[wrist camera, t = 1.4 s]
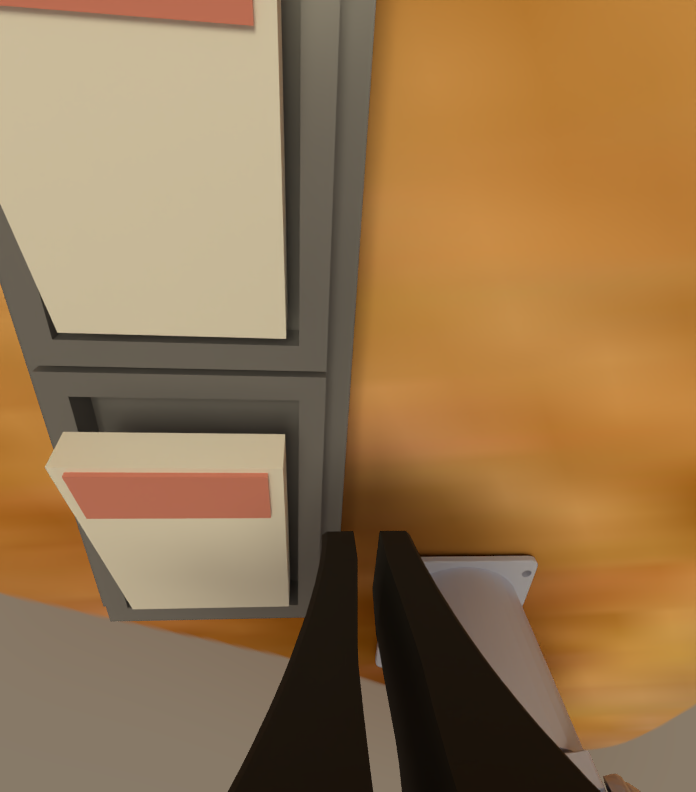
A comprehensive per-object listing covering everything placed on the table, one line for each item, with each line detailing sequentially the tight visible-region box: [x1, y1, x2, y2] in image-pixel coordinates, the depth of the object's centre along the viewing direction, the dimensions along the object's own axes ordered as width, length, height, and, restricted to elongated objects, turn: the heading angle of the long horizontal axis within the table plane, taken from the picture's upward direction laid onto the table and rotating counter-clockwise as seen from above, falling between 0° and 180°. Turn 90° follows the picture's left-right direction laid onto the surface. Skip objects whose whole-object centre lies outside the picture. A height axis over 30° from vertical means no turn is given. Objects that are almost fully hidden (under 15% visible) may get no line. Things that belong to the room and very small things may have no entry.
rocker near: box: [0, 0, 288, 339], centre depth 10 cm, size 9×6×1 cm, turn 177°
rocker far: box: [45, 432, 290, 609], centre depth 16 cm, size 9×6×1 cm, turn 177°
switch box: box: [0, 0, 376, 621], centre depth 16 cm, size 24×10×5 cm, turn 177°
